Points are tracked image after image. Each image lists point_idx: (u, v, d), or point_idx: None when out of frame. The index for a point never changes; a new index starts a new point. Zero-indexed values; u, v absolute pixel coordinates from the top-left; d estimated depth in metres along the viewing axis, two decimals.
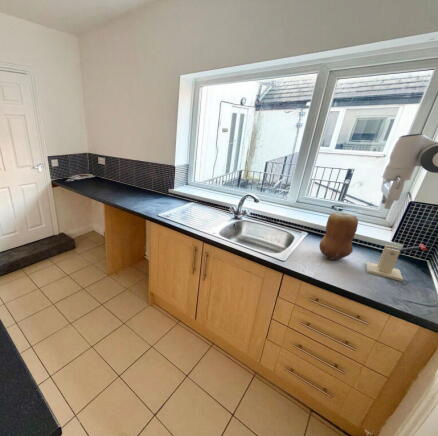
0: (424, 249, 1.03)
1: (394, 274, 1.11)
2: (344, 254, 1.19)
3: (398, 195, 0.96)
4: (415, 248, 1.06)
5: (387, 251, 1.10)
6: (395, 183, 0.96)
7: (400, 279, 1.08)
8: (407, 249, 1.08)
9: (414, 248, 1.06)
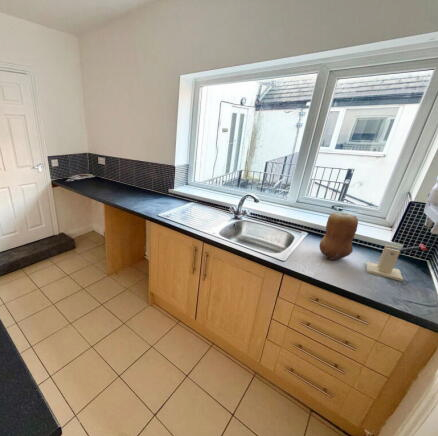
0: (424, 249, 1.03)
1: (394, 274, 1.11)
2: (344, 254, 1.19)
3: None
4: (415, 248, 1.06)
5: (387, 251, 1.10)
6: None
7: (400, 279, 1.08)
8: (407, 249, 1.08)
9: (414, 248, 1.06)
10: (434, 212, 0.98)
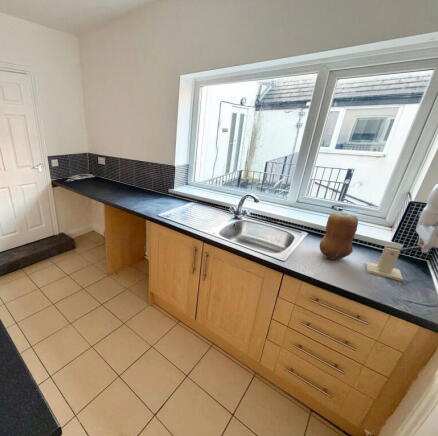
0: None
1: (394, 274, 1.11)
2: (344, 254, 1.19)
3: None
4: (415, 248, 1.06)
5: (387, 251, 1.10)
6: (436, 230, 0.95)
7: (400, 279, 1.08)
8: (407, 249, 1.08)
9: (414, 248, 1.06)
10: (425, 232, 1.01)
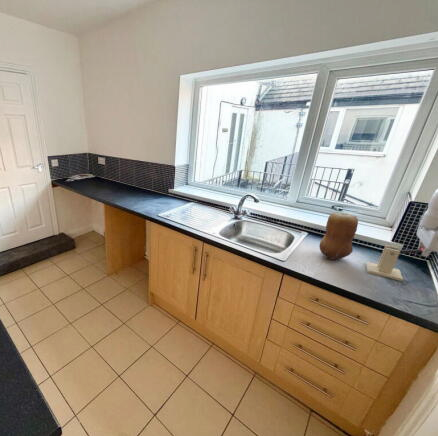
0: None
1: (394, 274, 1.11)
2: (344, 254, 1.19)
3: None
4: (416, 251, 1.06)
5: (387, 251, 1.10)
6: (437, 235, 0.95)
7: (400, 279, 1.08)
8: (408, 251, 1.08)
9: (415, 251, 1.06)
10: (426, 236, 1.02)
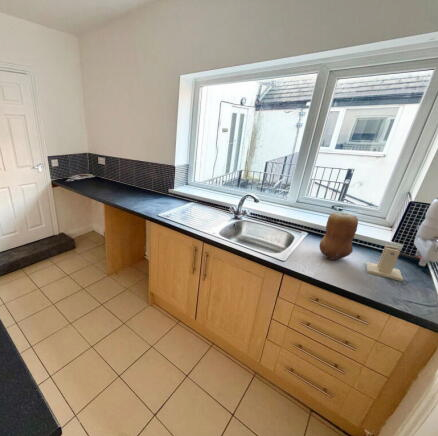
0: None
1: (394, 274, 1.11)
2: (344, 254, 1.19)
3: (437, 257, 0.96)
4: (414, 258, 1.07)
5: (387, 251, 1.10)
6: (434, 245, 0.96)
7: (400, 279, 1.08)
8: (407, 256, 1.08)
9: (413, 257, 1.07)
10: (423, 246, 1.03)
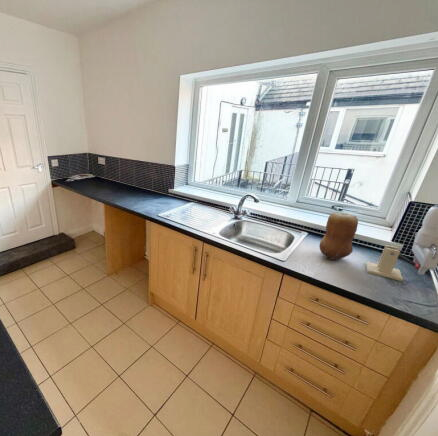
0: (417, 267, 1.06)
1: (394, 274, 1.11)
2: (344, 254, 1.19)
3: (434, 265, 0.97)
4: (411, 262, 1.08)
5: (387, 251, 1.10)
6: (431, 253, 0.97)
7: (400, 279, 1.08)
8: (404, 258, 1.09)
9: (410, 261, 1.08)
10: (420, 254, 1.04)
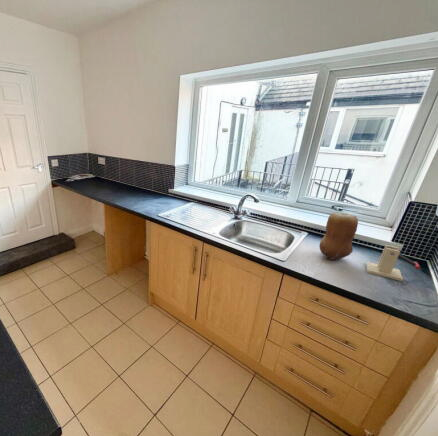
0: (417, 267, 1.06)
1: (394, 274, 1.11)
2: (344, 254, 1.19)
3: None
4: (411, 262, 1.08)
5: (387, 251, 1.10)
6: None
7: (400, 279, 1.08)
8: (404, 258, 1.09)
9: (410, 261, 1.08)
10: None
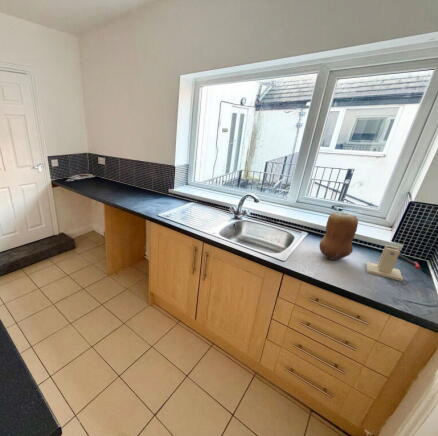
0: (417, 267, 1.06)
1: (394, 274, 1.11)
2: (344, 254, 1.19)
3: None
4: (411, 262, 1.08)
5: (387, 251, 1.10)
6: None
7: (400, 279, 1.08)
8: (404, 258, 1.09)
9: (410, 261, 1.08)
10: None
